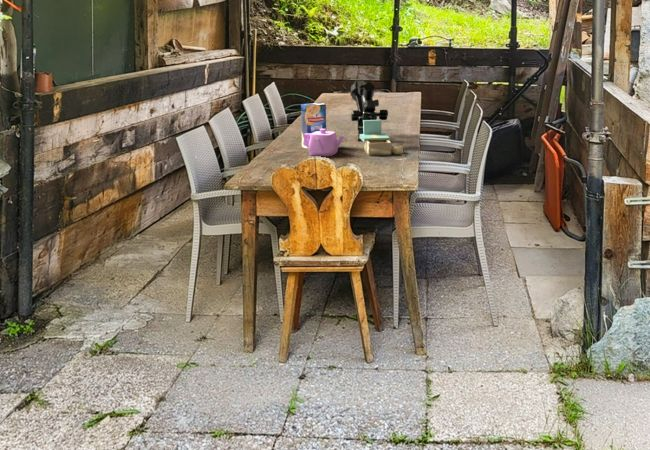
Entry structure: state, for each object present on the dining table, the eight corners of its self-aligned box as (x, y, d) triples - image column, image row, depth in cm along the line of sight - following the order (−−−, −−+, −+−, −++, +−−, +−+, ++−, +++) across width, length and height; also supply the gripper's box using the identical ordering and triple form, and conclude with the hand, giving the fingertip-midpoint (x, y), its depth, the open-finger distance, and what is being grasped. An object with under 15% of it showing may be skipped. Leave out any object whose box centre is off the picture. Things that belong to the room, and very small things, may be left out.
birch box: (364, 150, 424) (364, 139, 423) (385, 150, 426) (386, 138, 424) (369, 155, 411) (368, 143, 409) (391, 154, 412) (391, 142, 411)
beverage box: (326, 146, 439) (326, 104, 433) (307, 148, 434) (306, 105, 428) (320, 144, 444) (319, 102, 439) (301, 146, 439) (300, 104, 434)
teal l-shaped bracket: (359, 138, 432) (359, 120, 429) (384, 137, 433) (384, 119, 431) (364, 142, 418) (364, 124, 416) (389, 141, 419) (389, 123, 417)
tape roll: (391, 153, 415) (391, 147, 414) (393, 152, 420) (393, 145, 419) (402, 154, 414) (402, 147, 413) (403, 152, 419) (403, 146, 418)
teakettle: (329, 149, 430) (329, 125, 426) (346, 154, 415) (346, 129, 412) (300, 153, 422) (299, 128, 419) (316, 158, 407) (315, 132, 404)
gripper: (351, 94, 433) (354, 118, 425) (387, 93, 435) (391, 117, 427) (349, 108, 443) (352, 132, 435) (384, 107, 445) (388, 131, 437)
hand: (371, 128), depth 433 cm, fingers closed
